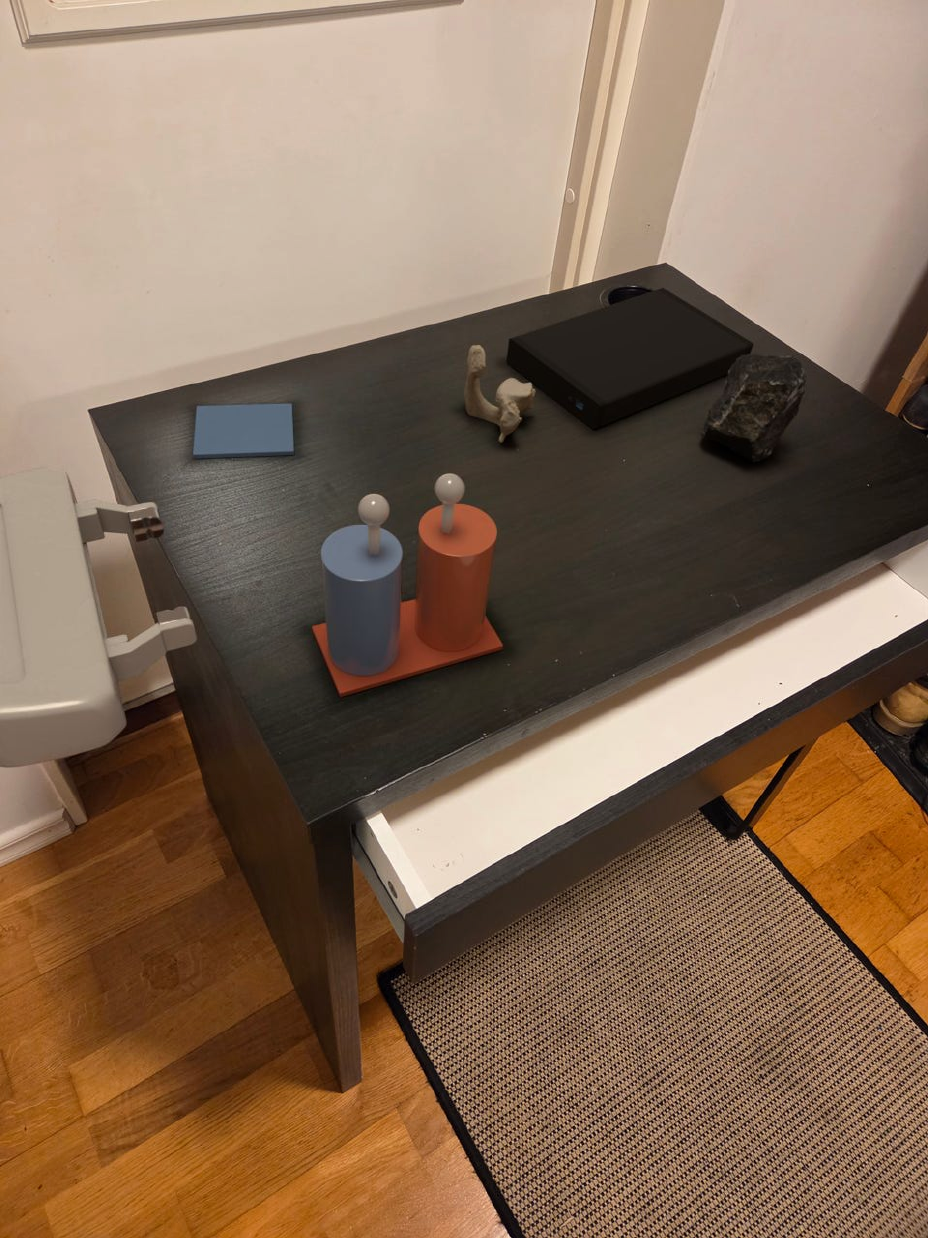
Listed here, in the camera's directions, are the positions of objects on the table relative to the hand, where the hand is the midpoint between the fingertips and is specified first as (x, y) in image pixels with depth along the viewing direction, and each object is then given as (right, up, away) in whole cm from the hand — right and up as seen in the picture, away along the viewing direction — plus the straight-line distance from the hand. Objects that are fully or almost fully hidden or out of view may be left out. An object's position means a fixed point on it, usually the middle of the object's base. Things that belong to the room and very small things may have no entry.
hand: (176, 568), depth 51 cm
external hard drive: (+35, +25, +43) cm, 61 cm away
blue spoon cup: (+10, -5, +13) cm, 17 cm away
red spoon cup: (+16, -4, +15) cm, 22 cm away
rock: (+44, +14, +34) cm, 58 cm away
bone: (+21, +16, +34) cm, 43 cm away
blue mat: (-4, +15, +30) cm, 33 cm away
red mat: (+13, -5, +14) cm, 20 cm away
